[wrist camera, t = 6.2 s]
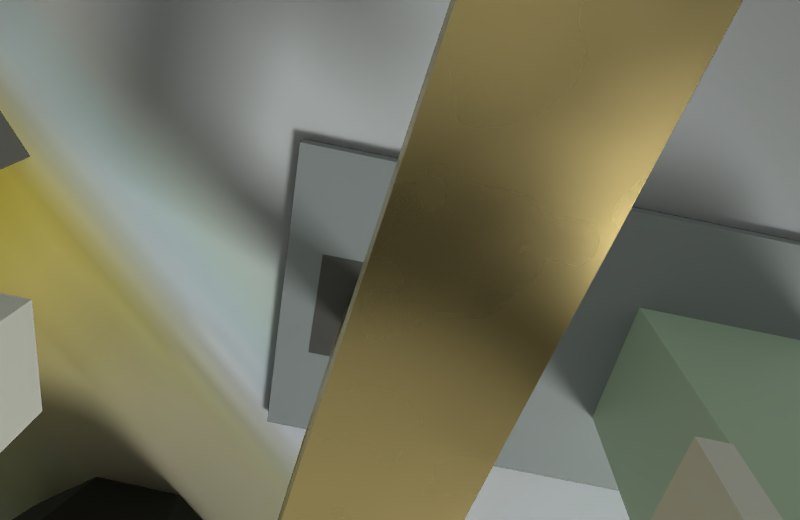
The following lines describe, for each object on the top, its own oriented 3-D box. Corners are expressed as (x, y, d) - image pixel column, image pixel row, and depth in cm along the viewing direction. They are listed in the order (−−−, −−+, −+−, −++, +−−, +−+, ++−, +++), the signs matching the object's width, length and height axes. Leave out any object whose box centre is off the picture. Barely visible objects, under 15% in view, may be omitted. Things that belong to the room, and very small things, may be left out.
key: (469, -70, 18) (565, -329, 4) (539, -44, 18) (855, -209, 4) (336, 334, 25) (202, 754, 11) (388, 351, 25) (321, 784, 11)
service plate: (887, 259, 23) (899, 266, 22) (735, 505, 28) (741, 515, 28) (303, 139, 22) (299, 142, 22) (270, 413, 28) (267, 421, 27)
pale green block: (823, 344, 24) (1103, 591, 14) (758, 450, 26) (955, 725, 16) (639, 307, 24) (786, 529, 14) (592, 417, 26) (686, 673, 16)
